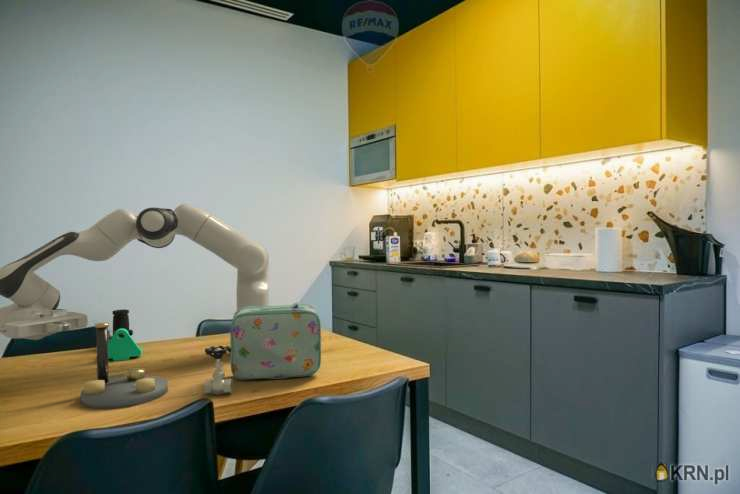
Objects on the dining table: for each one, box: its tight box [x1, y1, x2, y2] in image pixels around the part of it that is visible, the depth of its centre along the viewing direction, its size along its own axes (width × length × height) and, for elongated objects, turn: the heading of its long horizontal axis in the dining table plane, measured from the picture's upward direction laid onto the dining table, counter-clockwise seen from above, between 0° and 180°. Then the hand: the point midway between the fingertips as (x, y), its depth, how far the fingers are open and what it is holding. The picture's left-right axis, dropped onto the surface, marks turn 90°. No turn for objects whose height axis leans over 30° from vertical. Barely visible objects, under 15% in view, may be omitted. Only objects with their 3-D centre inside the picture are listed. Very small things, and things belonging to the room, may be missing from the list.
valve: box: [203, 345, 234, 396], centre depth 122 cm, size 7×7×12 cm
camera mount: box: [108, 328, 143, 362], centre depth 161 cm, size 12×8×10 cm, turn 112°
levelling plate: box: [80, 375, 169, 410], centre depth 123 cm, size 20×20×4 cm
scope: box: [108, 309, 134, 343], centre depth 175 cm, size 8×14×10 cm
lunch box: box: [229, 301, 323, 381], centre depth 139 cm, size 27×10×21 cm, turn 102°
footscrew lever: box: [94, 322, 146, 383], centre depth 127 cm, size 12×4×16 cm, turn 131°
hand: (65, 327), depth 130 cm, fingers closed
